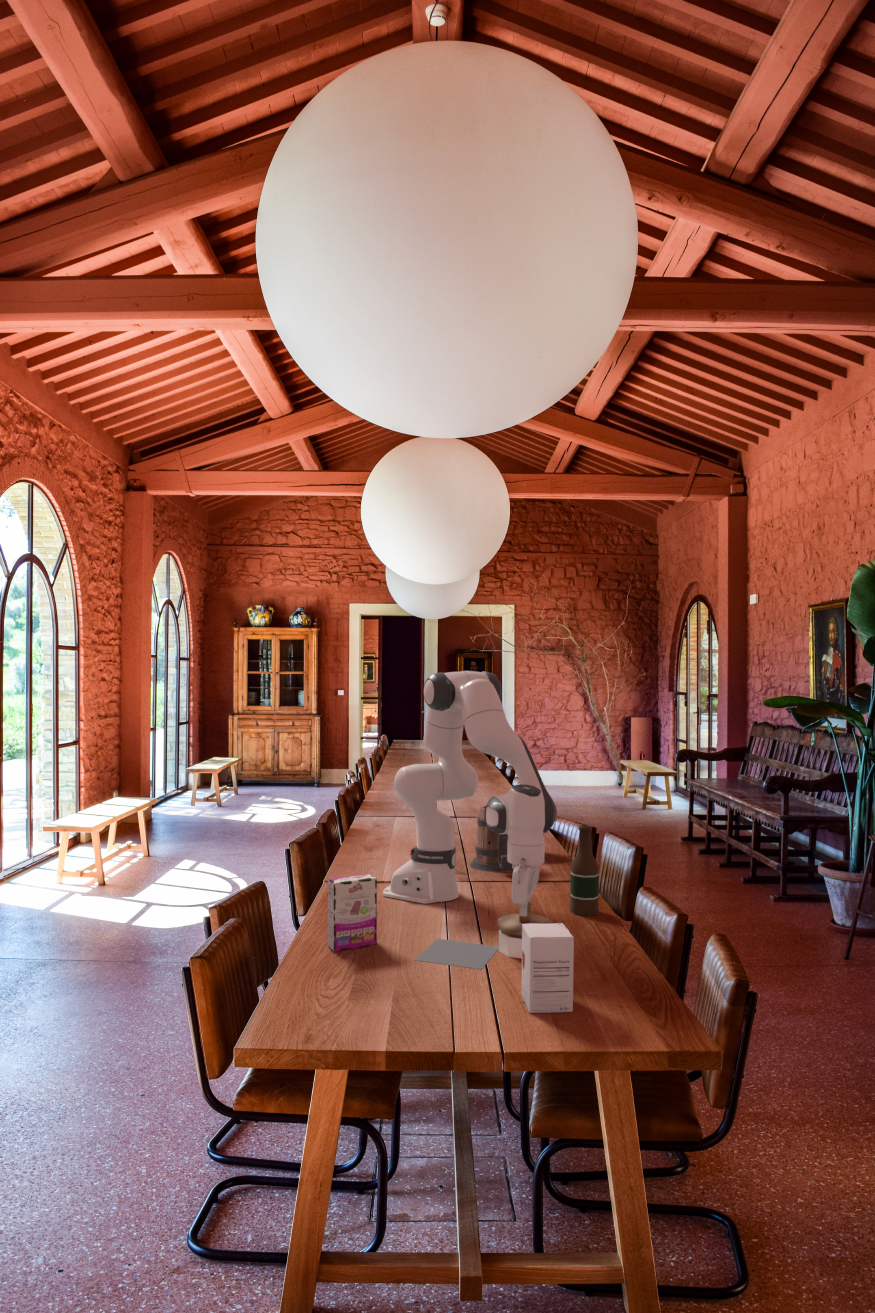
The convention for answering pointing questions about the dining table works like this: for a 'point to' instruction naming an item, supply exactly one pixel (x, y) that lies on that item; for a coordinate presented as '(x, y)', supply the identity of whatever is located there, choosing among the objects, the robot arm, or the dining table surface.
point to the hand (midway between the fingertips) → (525, 912)
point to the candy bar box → (352, 912)
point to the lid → (520, 921)
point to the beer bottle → (584, 877)
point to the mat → (458, 954)
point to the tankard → (490, 848)
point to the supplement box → (547, 967)
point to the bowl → (510, 944)
